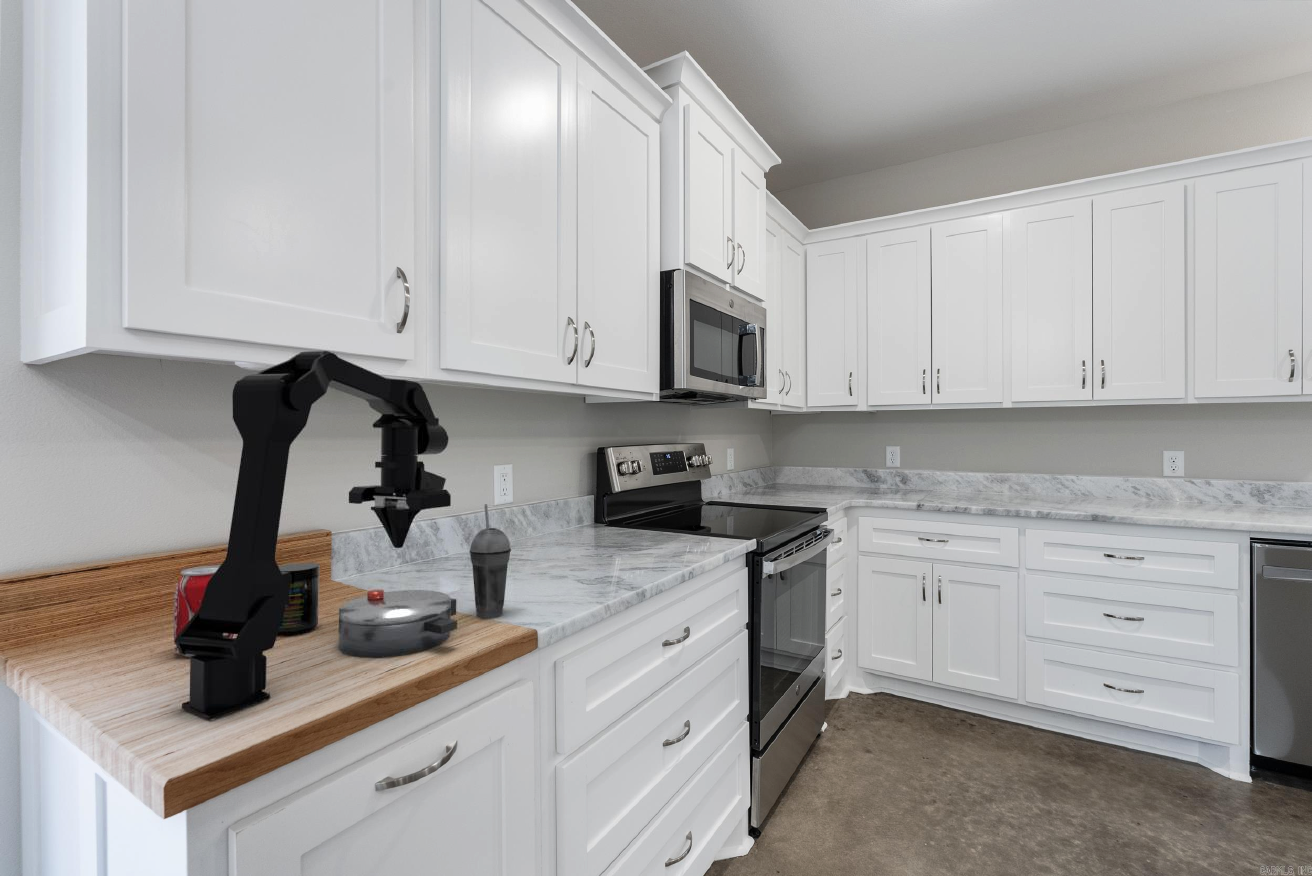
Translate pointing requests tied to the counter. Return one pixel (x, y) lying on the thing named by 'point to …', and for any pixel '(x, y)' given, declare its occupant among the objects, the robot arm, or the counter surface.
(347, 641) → the pressure cooker pot
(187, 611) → the soda can
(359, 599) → the pressure cooker lid
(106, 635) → the counter surface
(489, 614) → the beverage cup
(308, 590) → the supplement container
